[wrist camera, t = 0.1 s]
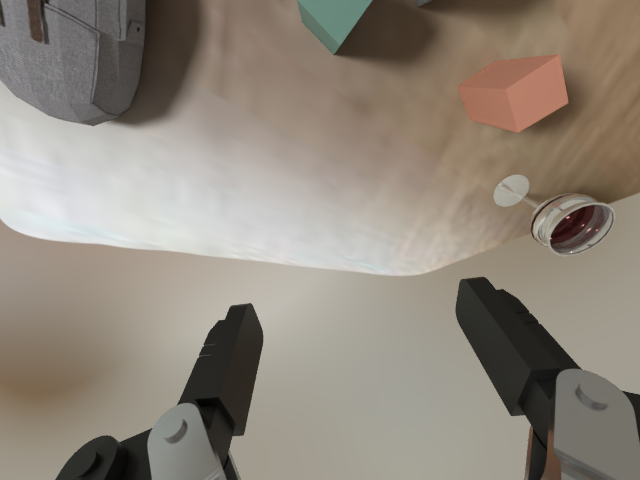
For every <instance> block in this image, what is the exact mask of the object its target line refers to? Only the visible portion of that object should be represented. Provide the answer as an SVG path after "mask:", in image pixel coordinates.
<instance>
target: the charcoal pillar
mask: <svg viewBox="0 0 640 480" xmlns="http://www.w3.org/2000/svg"><path fill="white" fill-rule="evenodd" d="M431 1H433V0H417V4H418V7H420V6H422V5H424V4H426V3H429V2H431Z"/></svg>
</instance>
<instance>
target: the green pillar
mask: <svg viewBox="0 0 640 480" xmlns="http://www.w3.org/2000/svg"><path fill="white" fill-rule="evenodd" d="M297 1H298V6H299V10H300V14H301V18H302V23H303V24H304V25H305V26H306V27H307V28H308V29H309V30H310V31H311V32H312V33H313V34H314V35H315V36H316V37H317V38H318V39H319V40H320V41H321V42H322V43H323V44H324V45H325V47H326V48H327V49H328V50H329V51H330V52H331V53H332V54H333V55H334V54H335V52H336V51H337V50H338V48H339V47H340V45H341V44H342V42H343V41H344V40H345V38H346V37H347V35H348V34H349V33H350V31H351V30H352V28H353V27H354V26H355V24H356V23H357V21H358V20H359V19H360V17H361V16H362V14H363V13H364V11H365V10H366V9H367V7H368V6H369V4H370V3H371V2H372V0H297Z"/></svg>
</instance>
